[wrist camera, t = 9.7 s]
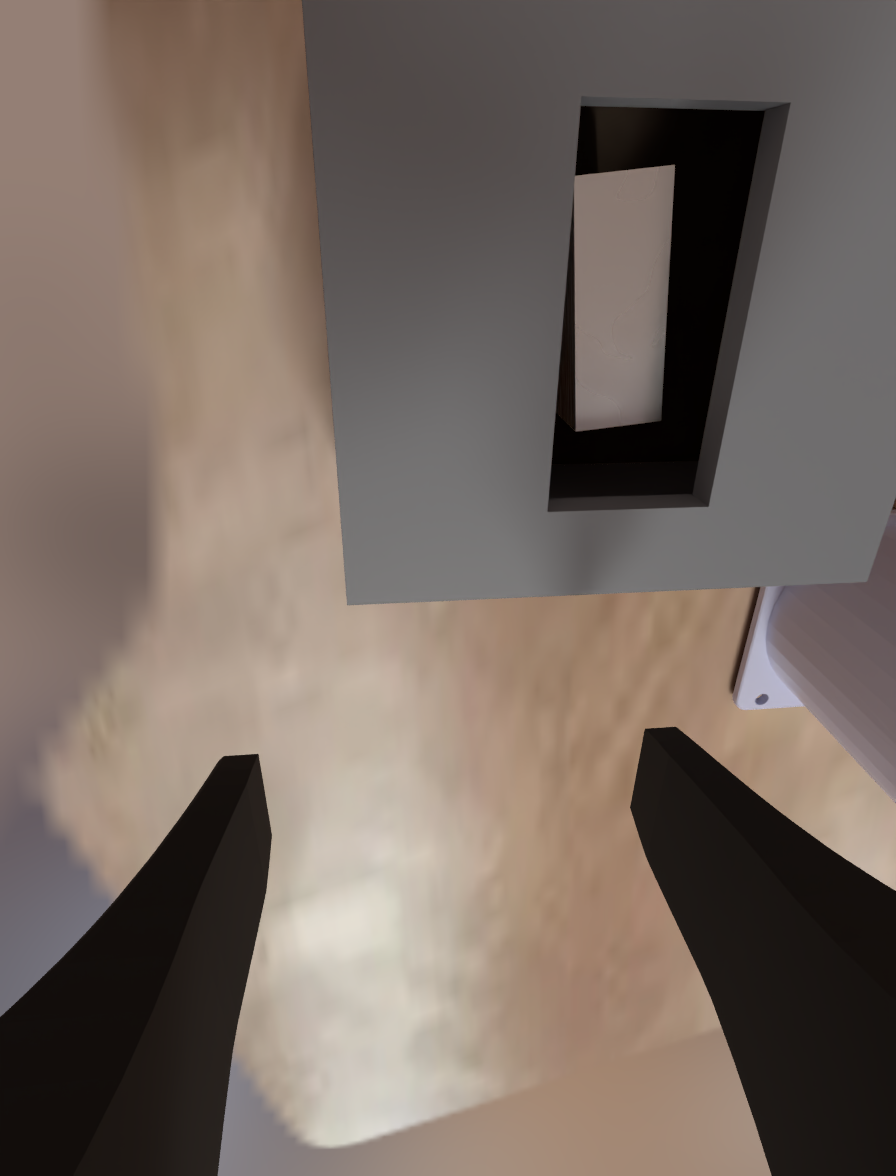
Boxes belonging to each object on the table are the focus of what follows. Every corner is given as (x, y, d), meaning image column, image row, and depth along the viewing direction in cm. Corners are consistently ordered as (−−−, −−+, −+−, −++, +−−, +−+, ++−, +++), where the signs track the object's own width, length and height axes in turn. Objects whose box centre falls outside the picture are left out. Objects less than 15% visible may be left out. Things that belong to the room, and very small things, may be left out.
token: (597, 184, 17) (674, 165, 13) (596, 380, 20) (661, 420, 15) (522, 192, 17) (573, 176, 13) (530, 388, 19) (575, 431, 15)
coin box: (814, 59, 16) (1082, -49, 10) (724, 483, 21) (866, 581, 15) (325, 42, 15) (294, -92, 9) (354, 494, 20) (346, 605, 14)
